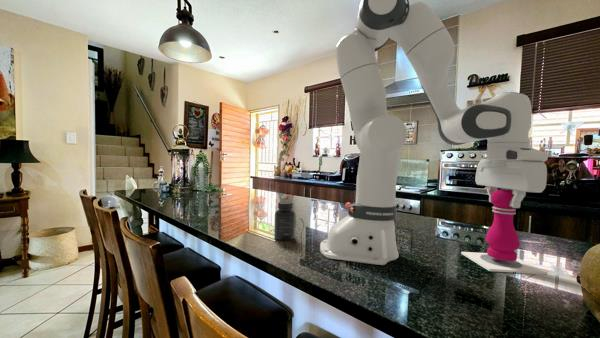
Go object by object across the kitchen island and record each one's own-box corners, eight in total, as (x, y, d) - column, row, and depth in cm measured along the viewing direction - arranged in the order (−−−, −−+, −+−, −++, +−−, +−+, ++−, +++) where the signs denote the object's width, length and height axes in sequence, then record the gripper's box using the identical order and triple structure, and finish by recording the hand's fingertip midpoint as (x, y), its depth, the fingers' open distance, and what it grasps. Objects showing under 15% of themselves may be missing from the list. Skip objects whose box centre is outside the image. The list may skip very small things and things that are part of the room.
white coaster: (489, 271, 63) (489, 268, 63) (461, 253, 75) (461, 251, 75) (547, 274, 63) (547, 271, 63) (509, 256, 75) (509, 253, 75)
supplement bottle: (273, 235, 87) (274, 200, 86) (292, 234, 88) (294, 200, 88) (274, 241, 80) (276, 204, 80) (296, 241, 81) (297, 204, 81)
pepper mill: (525, 263, 64) (529, 185, 64) (493, 260, 66) (497, 184, 66) (508, 253, 72) (512, 183, 71) (480, 251, 73) (483, 182, 73)
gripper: (470, 154, 79) (468, 198, 79) (526, 152, 58) (522, 211, 59) (491, 155, 78) (488, 199, 79) (555, 153, 58) (550, 213, 58)
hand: (503, 205), depth 69 cm, fingers closed on pepper mill, 6 cm apart
